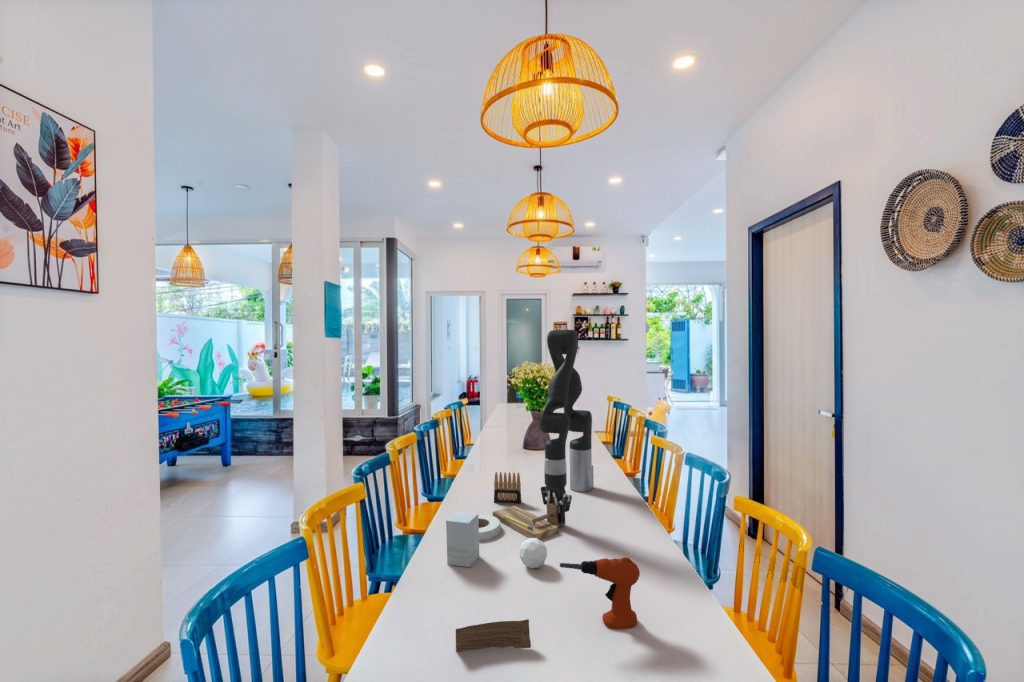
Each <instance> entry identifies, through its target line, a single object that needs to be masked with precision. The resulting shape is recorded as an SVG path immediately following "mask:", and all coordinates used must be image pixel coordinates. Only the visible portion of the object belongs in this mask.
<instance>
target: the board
mask: <svg viewBox="0 0 1024 682" xmlns="http://www.w3.org/2000/svg"><path fill="white" fill-rule="evenodd" d="M505 515H507V516H509V517H511V518H513V519H516V520H518V521H520V522H522V523H525V524H527V525H529V526H531V527H533V530H529V529H527V528H525V527H523V526H520V525H518V524H516V523H514V522H512V521H509V520H507V519H505V518H504V516H505ZM492 516H494V517H496V518H498V519H499V521H500V524H504V525H505V526H506V527H509V528H510V529H512V530H514V531H516V532H518V533H519V534H522V535H523V536H524V537H526V538H527V539H529V538H537V539H539V540H542V539H544V538H548V537H551V536H554V535H556V534H559V527H557V526H555V525H553V524H551V523H549V522H547V520H546V519H544V520H541V521H538V522H535V525H534V523H533V522H532V519H533V518H536V517H538V516H537V515H535V514H533V513H531V512H529V511H528V510H525V509H523V508H521V507H519V506H516V505H512V506H508V507H506V508H502V509H498V510H494V511H492Z"/></svg>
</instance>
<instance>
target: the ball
mask: <svg viewBox="0 0 1024 682" xmlns="http://www.w3.org/2000/svg"><path fill="white" fill-rule="evenodd" d="M547 557H548V549H547V546H546V545H545V544H544V541H542V540H541V539H537V538H527V539H526V540H524V541H523V542H522V543H521V546H520V548H519V558H520V561H521V562H522V563H523V565H524V566H526V567H528V568H530V569H538V568H539V567H541V566H543V565H544V564H545V563H546V559H547Z"/></svg>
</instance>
